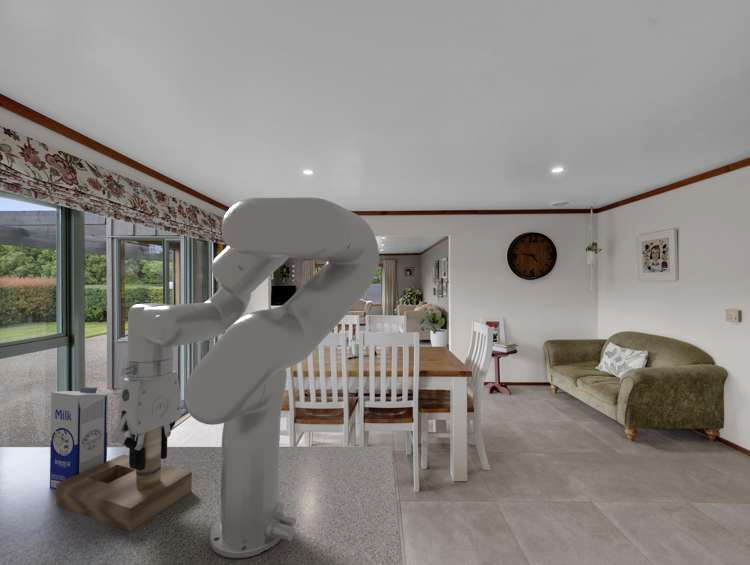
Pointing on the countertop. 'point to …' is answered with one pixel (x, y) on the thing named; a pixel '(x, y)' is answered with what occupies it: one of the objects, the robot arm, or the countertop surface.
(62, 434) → the milk carton
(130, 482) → the walnut board
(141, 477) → the maple peg
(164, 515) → the countertop surface
